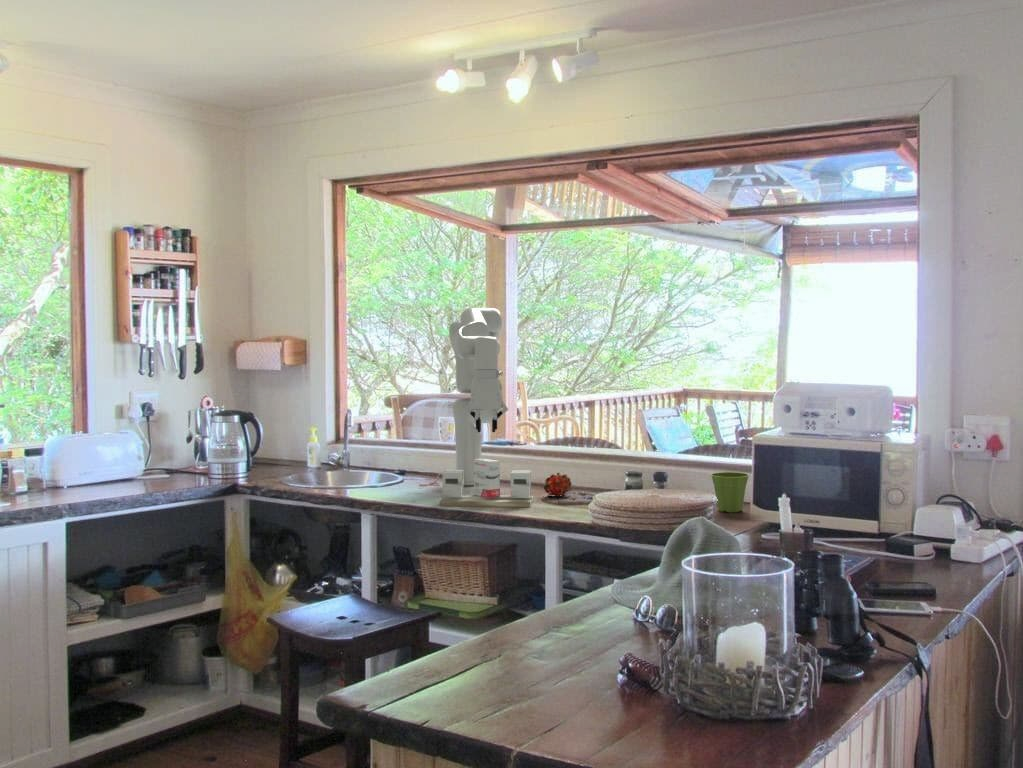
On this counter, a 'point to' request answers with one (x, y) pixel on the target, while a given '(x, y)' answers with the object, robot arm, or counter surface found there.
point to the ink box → (487, 478)
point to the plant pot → (730, 490)
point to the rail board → (456, 497)
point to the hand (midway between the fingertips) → (486, 431)
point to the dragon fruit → (557, 484)
